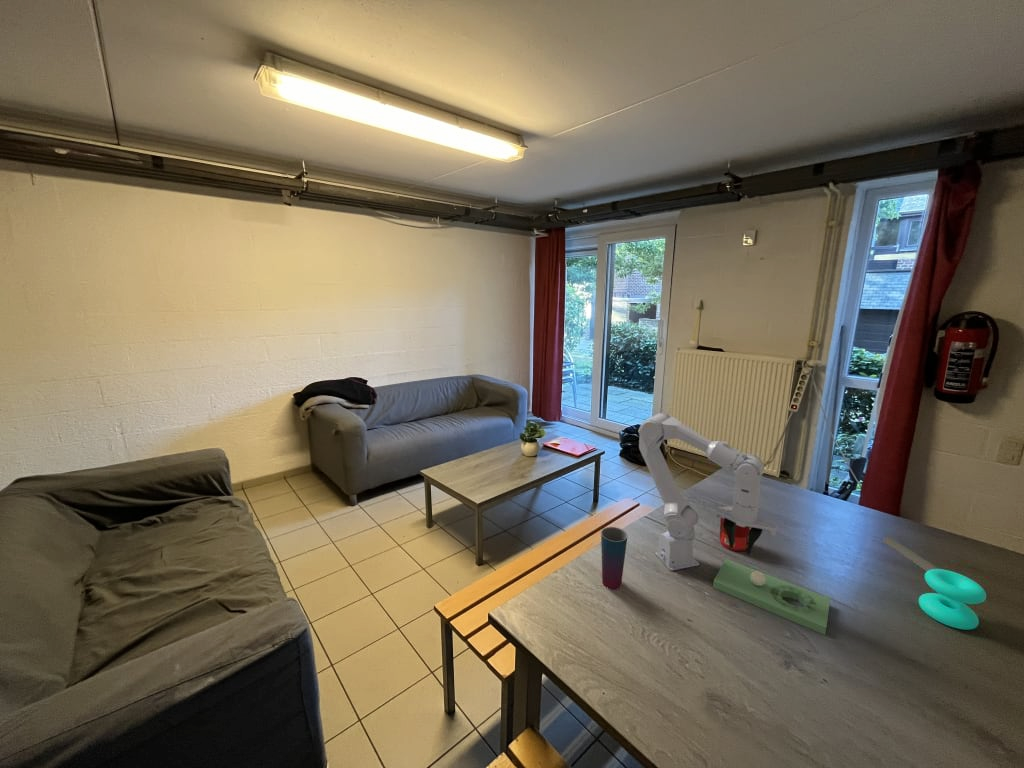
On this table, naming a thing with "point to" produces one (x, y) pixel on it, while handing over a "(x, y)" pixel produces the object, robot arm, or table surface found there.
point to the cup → (613, 556)
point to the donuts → (952, 598)
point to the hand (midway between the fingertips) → (740, 548)
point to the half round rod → (909, 554)
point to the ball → (757, 578)
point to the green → (774, 596)
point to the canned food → (740, 536)
